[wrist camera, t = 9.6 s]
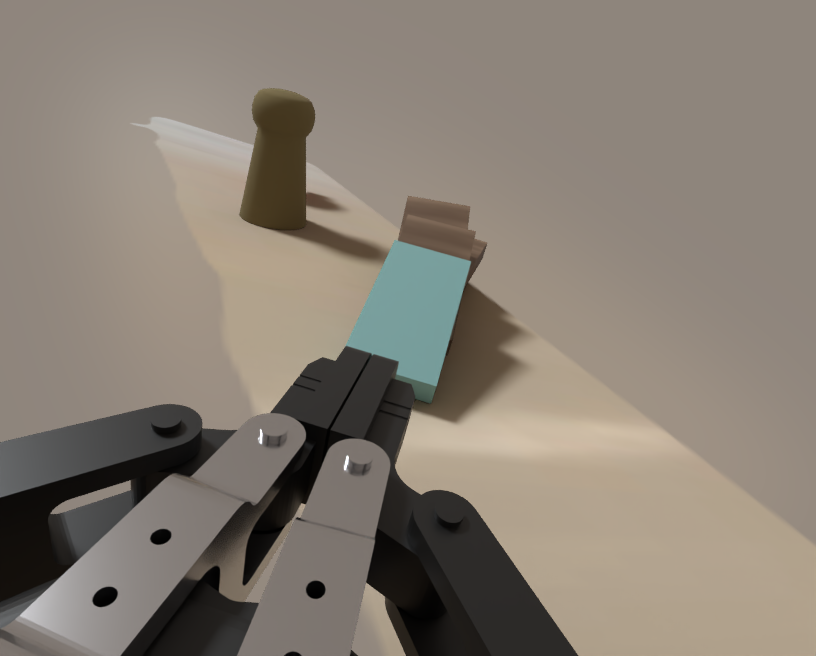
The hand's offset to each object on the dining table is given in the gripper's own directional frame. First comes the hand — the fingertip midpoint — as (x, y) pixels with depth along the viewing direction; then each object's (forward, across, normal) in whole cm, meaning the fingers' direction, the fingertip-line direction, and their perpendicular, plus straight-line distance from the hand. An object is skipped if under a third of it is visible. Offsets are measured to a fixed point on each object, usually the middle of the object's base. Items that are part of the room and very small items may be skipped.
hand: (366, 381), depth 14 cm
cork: (+32, +17, +7) cm, 36 cm away
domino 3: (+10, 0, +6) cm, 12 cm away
